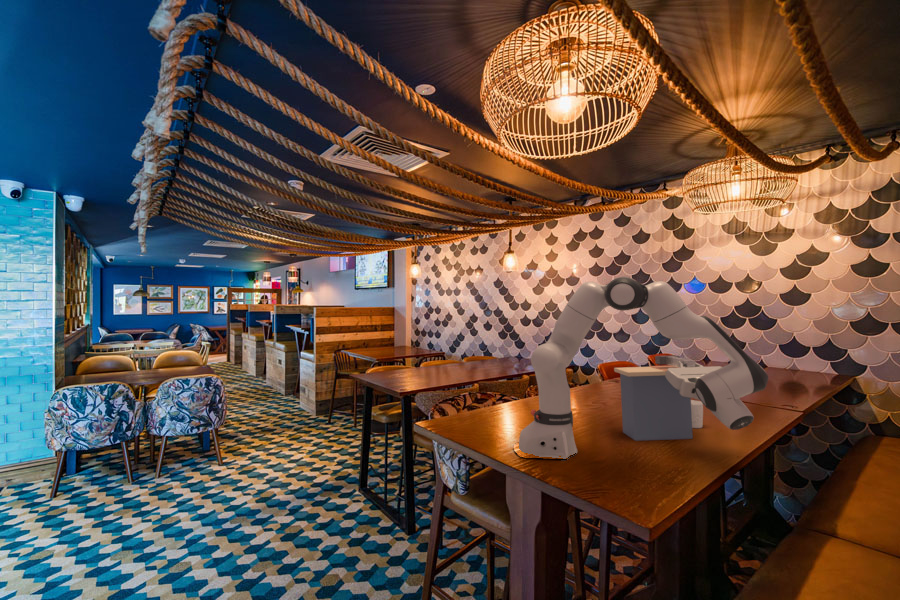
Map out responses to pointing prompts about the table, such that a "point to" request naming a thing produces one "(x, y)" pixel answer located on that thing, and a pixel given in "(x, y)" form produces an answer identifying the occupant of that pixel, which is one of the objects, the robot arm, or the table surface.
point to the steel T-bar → (674, 361)
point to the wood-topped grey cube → (653, 405)
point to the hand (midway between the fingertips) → (685, 362)
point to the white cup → (697, 414)
